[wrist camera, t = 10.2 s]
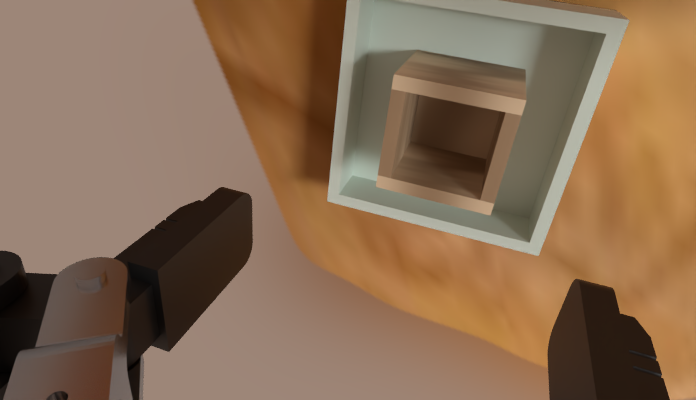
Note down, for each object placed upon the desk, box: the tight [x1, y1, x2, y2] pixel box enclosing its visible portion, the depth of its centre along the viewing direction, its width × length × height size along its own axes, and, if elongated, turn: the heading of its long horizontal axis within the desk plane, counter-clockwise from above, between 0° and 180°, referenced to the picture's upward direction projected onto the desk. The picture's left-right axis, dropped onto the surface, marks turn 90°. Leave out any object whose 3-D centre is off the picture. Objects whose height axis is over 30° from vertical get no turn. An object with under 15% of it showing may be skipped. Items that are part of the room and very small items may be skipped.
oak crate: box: [376, 50, 526, 216], centre depth 25 cm, size 6×6×6 cm
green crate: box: [327, 0, 629, 256], centre depth 27 cm, size 13×13×4 cm
